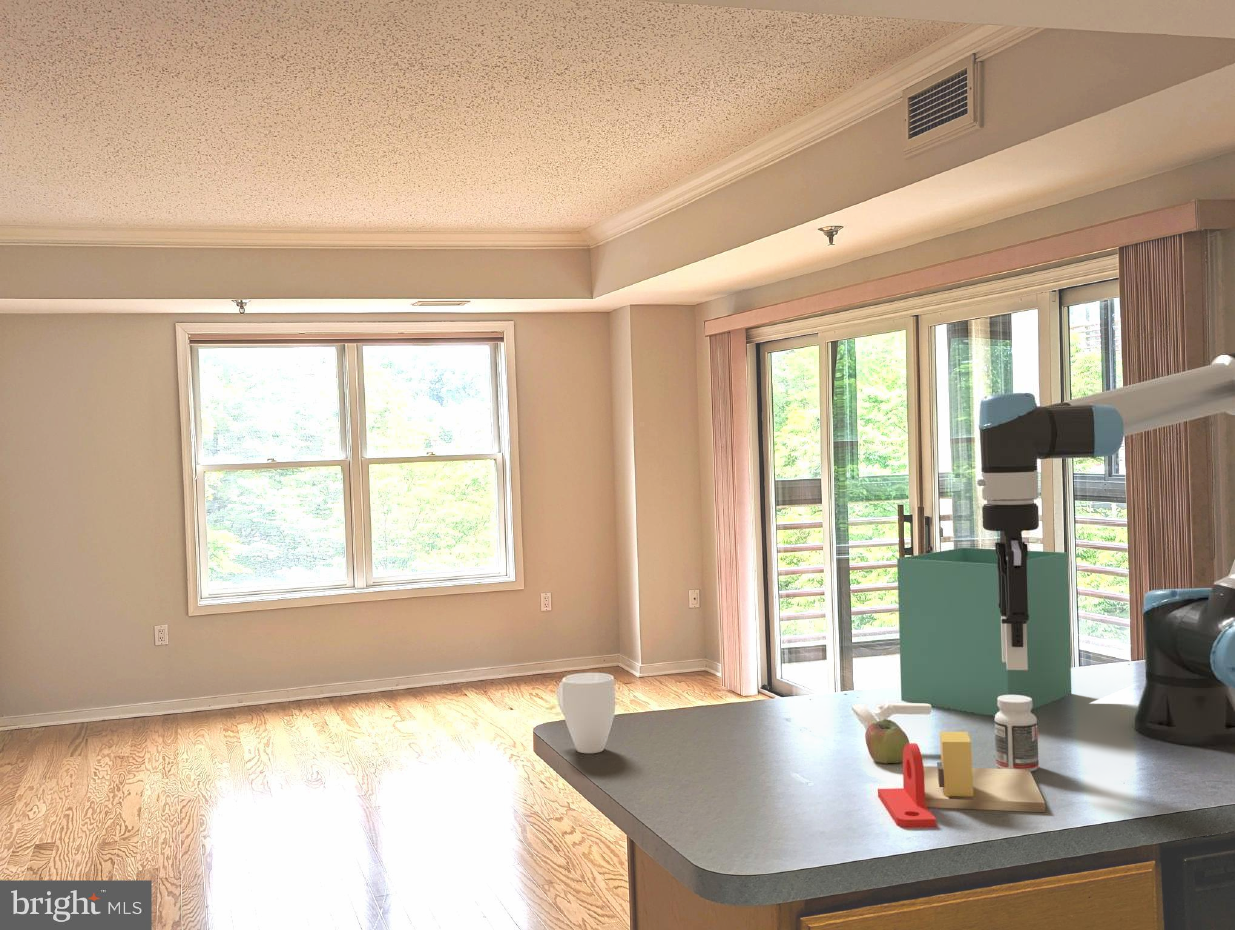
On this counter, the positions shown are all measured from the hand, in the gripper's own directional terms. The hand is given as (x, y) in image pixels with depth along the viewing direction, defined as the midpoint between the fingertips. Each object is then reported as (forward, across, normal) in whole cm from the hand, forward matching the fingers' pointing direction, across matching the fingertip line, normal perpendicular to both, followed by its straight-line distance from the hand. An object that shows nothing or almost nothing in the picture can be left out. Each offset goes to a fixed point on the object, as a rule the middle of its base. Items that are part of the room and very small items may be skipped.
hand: (1014, 665), depth 153 cm
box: (+15, -43, 0) cm, 46 cm away
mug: (+15, -3, -65) cm, 67 cm away
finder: (+10, +16, -8) cm, 20 cm away
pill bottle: (+15, 0, 0) cm, 15 cm away
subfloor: (+15, +12, -7) cm, 20 cm away
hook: (+15, -8, -17) cm, 24 cm away
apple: (+15, -2, -18) cm, 24 cm away
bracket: (+15, +21, -16) cm, 30 cm away
